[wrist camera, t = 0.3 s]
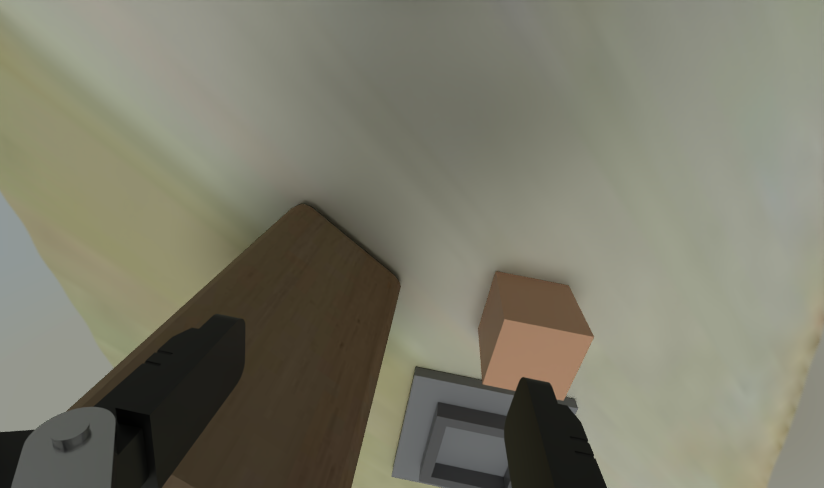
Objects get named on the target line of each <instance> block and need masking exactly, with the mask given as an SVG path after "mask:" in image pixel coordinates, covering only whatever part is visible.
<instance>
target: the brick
mask: <svg viewBox="0 0 824 488" xmlns="http://www.w3.org/2000/svg"><path fill="white" fill-rule="evenodd" d="M478 334H479V347H480V359H481V372H482V384H484V385H488V386H493V387H498V388H503V389H508V390H513V391H516V388H517V386H518V383H519V381H520V379H521V378H522V377H525V378H530V379H535V380H540V381H545V382H549V383H550V384H551V385H552V388H553V391H554V393H555V396H556V399H557V400H562V401H564V399H565V397H566V394H567V392H568V390H569V388H570V386H571V384H572V382H573V380H574V378H575V376H576V374H577V372H578V370H579V367H580V365H581V363H582V361H583V359H584V357H585V355H586V353H587V351H588V349H589V347H590V345H591V342H592V340H593V338H594V336H593V334H592V332H591V330H590V328H589V326H588V324H587V322H586V320H585V318H584V316H583V314H582V312H581V310H580V308H579V306H578V303H577V301H576V299H575V297H574V295H573V293H572V291H571V289H570V287H569V285H564V284H559V283H554V282H549V281H544V280H539V279H533V278H528V277H523V276H518V275H513V274H508V273H503V272H498V271H496V272H495V275H494V278H493V282H492V285H491V288H490V291H489V295H488V298H487V301H486V305H485V308H484V311H483V314H482V318H481V321H480V324H479V328H478Z"/></svg>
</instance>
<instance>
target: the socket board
mask: <svg viewBox="0 0 824 488" xmlns="http://www.w3.org/2000/svg"><path fill="white" fill-rule="evenodd" d="M514 394H515V391H513V390H508V389H503V388H498V387H493V386H488V385H484V384H482V380H478V379H473V378H468V377H463V376H458V375H454V374H449V373H444V372H439V371H434V370H429V369H424V368H419V367H416V368H415V372H414V377H413V381H412V386H411V390H410V395H409V399H408V403H407V408H406V412H405V417H404V421H403V426H402V430H401V434H400V439H399V443H398V448H397V452H396V457H395V461H394V465H393V471H392V477H395V478H400V479H405V480H410V481H415V482H419V483H424V484H429V485H434V486H438V487H443V488H512V486H511V480H510V474H509V467H508V461H507V455H506V448H505V442H504V426H505V420H506V416H507V413H508V411H509V408H510V405H511V402H512V399H513V397H514ZM557 402H558V404H562V405H567V406H568V407H569V408H570V409H571V411H572V412H573V413H574V414H576V412H577V410H578V407H577V404H576V401H575V399H571V398H567V397H565V399H564V401H562V400H557Z"/></svg>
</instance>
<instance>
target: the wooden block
mask: <svg viewBox="0 0 824 488" xmlns="http://www.w3.org/2000/svg"><path fill="white" fill-rule="evenodd" d="M400 287H401V286H400V283H399V281H398V280H397V278H396V277H395V275H393V274H392V273H391V272H390V271H389V270H387V269H386V268H385V267H384V266H382V265H381V264H380V263H379V262H378V261H376V260H375V259H374V258H373V257H372V256H370V255H369V254H368V253H367V252H365V251H364V250H363V249H362V248H361V247H359V246H358V245H357V244H356V243H355V242H353V241H352V240H351V239H350V238H349V237H347V236H346V235H345V234H344V233H342V232H341V231H340V230H339V229H338V228H336V227H335V226H334V225H333V224H332V223H330V222H329V221H328V220H327V219H326V218H324V217H323V216H322V215H321V214H319V213H318V212H317V211H316V210H315V209H313V208H312V207H310V206H308V205H305V204H300V205H298V206H295V207H293V208H291V209H290V210H289V211H288V212H287V213H286V214H285V215H284V216H282V217H281V218H280V219H279V220H278V221H277V222H276V223H275V224H274V225H272V226H271V227H270V228H269V229H268V230H267V231H266V232H265V233H264V234H262V235H261V236H260V237H259V238H258V239H257V240H256V241H255V242H254V243H252V244H251V245H250V246H249V247H248V248H247V249H246V250H245V251H244V252H242V253H241V254H240V255H239V256H238V257H237V258H236V259H235V260H234V261H232V262H231V263H230V264H229V265H228V266H227V267H226V268H225V269H224V270H222V271H221V272H220V273H219V274H218V275H217V276H216V277H215V278H214V279H213V280H211V281H210V282H209V283H208V284H207V285H206V286H205V287H204V288H203V289H201V290H200V291H199V292H198V293H197V294H196V295H195V296H194V297H193V298H191V299H190V300H189V301H188V302H187V303H186V304H185V305H184V306H183V307H181V308H180V309H179V310H178V311H177V312H176V313H175V314H174V315H173V316H171V317H170V318H169V319H168V320H167V321H166V322H165V323H164V324H163V325H161V326H160V327H159V328H158V329H157V330H156V331H155V332H154V333H153V334H151V335H150V336H149V337H148V338H147V339H146V340H145V341H144V342H143V343H141V344H140V345H139V346H138V347H137V348H136V349H135V350H134V351H133V352H131V353H130V354H129V355H128V356H127V357H126V358H125V359H124V360H123V361H121V362H120V363H119V364H118V365H117V366H116V367H115V368H114V369H113V370H111V371H110V372H109V373H108V374H107V375H106V376H105V377H104V378H103V379H102V380H100V381H99V382H98V383H97V384H96V385H95V386H94V387H93V388H92V389H91V390H89V391H88V392H87V393H86V394H85V395H84V396H83V397H82V398H80V399H79V400H78V401H77V402H76V403H75V404H74V405H73V406H72V407H70V409H68V410H67V411H70V410H73V409H77V408H83V407H93V406H94V405H96V404H97V403H98V402H99V401H100V400H101V399H102V398H104V397H105V396H106V395H107V394H108V393H109V392H110V391H112V390H113V389H114V388H115V387H116V386H117V385H118V384H119V383H121V382H122V381H123V380H124V379H125V378H126V377H127V376H129V375H130V374H131V373H132V372H133V371H134V370H135V369H136V368H138V367H139V366H140V365H141V364H142V363H143V364H144V363H145V361H146V360H147V359H148V358H149V357H150V356H151V355H152V354H153V353H155V352H156V353H157V351H158V349H159V348H160V347H161V346H163V345H164V344H165V343H166V342H167V341H168V340H169V339H170V338H172V337H173V336H175V335H177V334H179V333H181V332H183V331H186V330H188V329H190V328H197V329H199V328H200V327H201V326H202V325H203V324H204V323H206V322H207V321H208V320H209V319H210V318H211V317H212V316H213V315H215V314H221V315H226V316H231V317H236V318H241V319H244V321H245V365H244V370H243V373H242V376H241V378H240V380H239V382H238V384H237V385H236V386H235V388H234V389H233V391H232V392H231V393H230V395H229V396H228V397H227V399H226V400H225V402H224V403H223V404H222V406H221V407H220V408H219V410H218V411H217V413H216V414H215V415H214V417H213V418H212V419H211V421H210V422H209V424H208V425H207V426H206V428H205V429H204V430H203V432H202V433H201V435H200V436H199V437H198V439H197V440H196V441H195V443H194V444H193V446H192V447H191V448H190V450H189V451H188V452H187V454H186V455H185V457H184V458H183V459H182V461H181V462H180V463H179V465H178V466H177V468H176V469H175V470H174V472H173V473H172V474H171V476H170V477H169V479H168V480H167V481H166V483H165V484H164V485H163V487H162V488H351V486H352V482H353V478H354V474H355V470H356V466H357V462H358V458H359V454H360V450H361V446H362V442H363V438H364V433H365V429H366V425H367V421H368V417H369V413H370V409H371V405H372V401H373V397H374V393H375V389H376V385H377V381H378V377H379V373H380V369H381V364H382V360H383V356H384V352H385V348H386V344H387V340H388V336H389V332H390V328H391V324H392V320H393V316H394V312H395V308H396V304H397V300H398V295H399V291H400ZM67 411H66V412H67Z"/></svg>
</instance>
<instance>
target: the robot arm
mask: <svg viewBox="0 0 824 488" xmlns="http://www.w3.org/2000/svg"><path fill="white" fill-rule="evenodd" d="M244 365H245V321H244V319H241V318H236V317H231V316H226V315H221V314H215V315H213V316H212V317H211V318H210V319H209V320H208V321H207V322H206V323H204V324H203V325H202V326H201V327H200V328H199V329H197V328H190V329H188V330H186V331H183V332H181V333H179V334H177V335H175V336H173V337H172V338H170V339H169V340H168V341H167V342H166V343H165V344H164V345H163V346H161V347H160V348H159V349H158V351H157V353H156V352H155V353H153V354H152V355H151V356H150V357H149V358H148V359H147V360H146V361H145V363H144V364H143V363H142V364H141V365H140V366H139V367H138V368H136V369H135V370H134V371H133V372H132V373H131V374H130V375H129V376H127V377H126V378H125V379H124V380H123V381H122V382H121V383H119V384H118V385H117V386H116V387H115V388H114V389H113V390H112V391H110V392H109V393H108V394H107V395H106V396H105V397H104V398H102V399H101V400H100V401H99V402H98V403H97V404H96V405H94V406H93V407H83V408H77V409H73V410H70V411H67V412H64V413H61V414H59V415H57V416H55V417H53V418H51V419H49V420H47V421H46V422H44V423H43V424H41V425H40V426H39V427H38V428H36V429H35V430H26V431H12V432H0V488H162V487H163V485H164V484H165V483H166V481H167V480H168V479H169V477H170V476H171V474H172V473H173V472H174V470H175V469H176V468H177V466H178V465H179V463H180V462H181V461H182V459H183V458H184V457H185V455H186V454H187V452H188V451H189V450H190V448H191V447H192V446H193V444H194V443H195V441H196V440H197V439H198V437H199V436H200V435H201V433H202V432H203V430H204V429H205V428H206V426H207V425H208V424H209V422H210V421H211V419H212V418H213V417H214V415H215V414H216V413H217V411H218V410H219V408H220V407H221V406H222V404H223V403H224V402H225V400H226V399H227V397H228V396H229V395H230V393H231V392H232V391H233V389H234V388H235V386H236V385H237V384H238V382H239V380H240V378H241V376H242V373H243V370H244ZM504 442H505V448H506V455H507V461H508V467H509V474H510V480H511V486H512V488H607V487H606V484H605V482H604V479H603V476H602V474H601V471H600V469H599V466H598V464H597V461H596V459H594V454H593V451H592V449H591V446H590V444H589V443H588V439H587V436H586V434H585V431H584V429H583V426H582V424H581V422H580V420H579V419H578V418H577V417H576V416H575V414H574V413H573V412H572V411H571V409H570V408H569V407H568V406H567V405H562V404H558V402H557V399H556V396H555V393H554V391H553V388H552V385H551V384H550V383H549V382H545V381H540V380H535V379H530V378H525V377H522V378H521V379H520V381H519V383H518V386H517V388H516V391H515V394H514V397H513V399H512V402H511V405H510V408H509V411H508V413H507V416H506V420H505V426H504Z"/></svg>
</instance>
